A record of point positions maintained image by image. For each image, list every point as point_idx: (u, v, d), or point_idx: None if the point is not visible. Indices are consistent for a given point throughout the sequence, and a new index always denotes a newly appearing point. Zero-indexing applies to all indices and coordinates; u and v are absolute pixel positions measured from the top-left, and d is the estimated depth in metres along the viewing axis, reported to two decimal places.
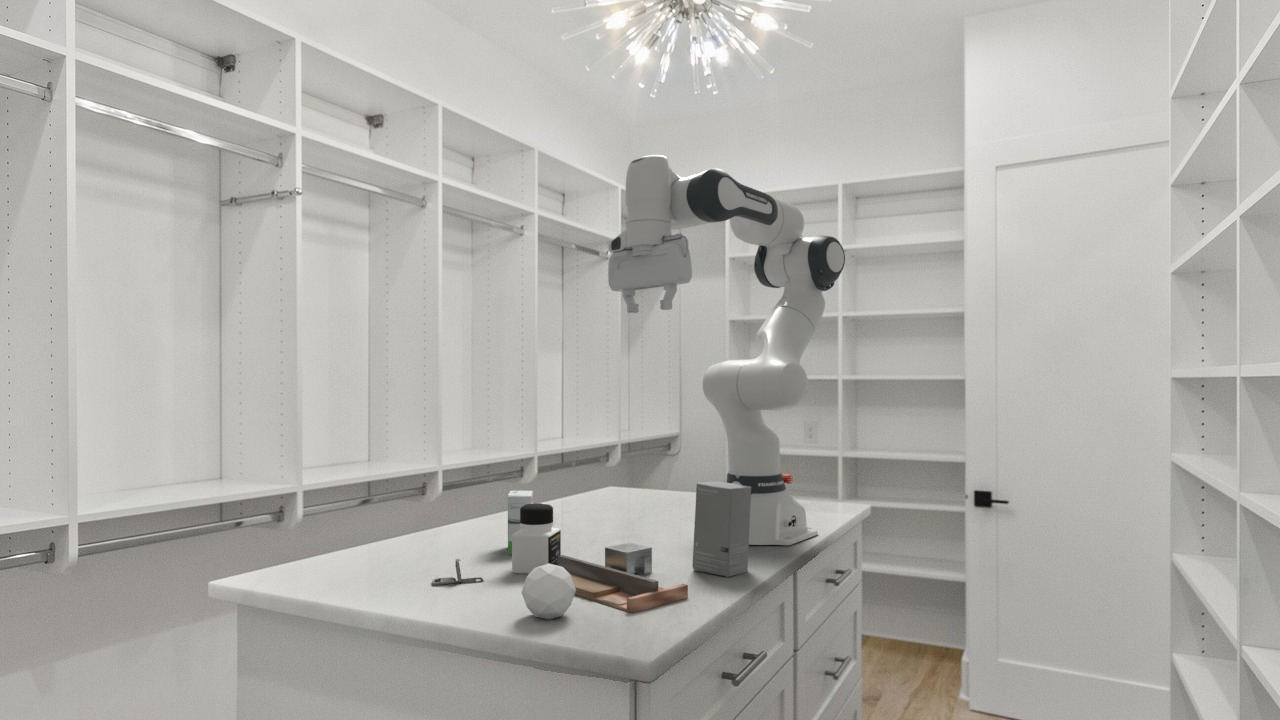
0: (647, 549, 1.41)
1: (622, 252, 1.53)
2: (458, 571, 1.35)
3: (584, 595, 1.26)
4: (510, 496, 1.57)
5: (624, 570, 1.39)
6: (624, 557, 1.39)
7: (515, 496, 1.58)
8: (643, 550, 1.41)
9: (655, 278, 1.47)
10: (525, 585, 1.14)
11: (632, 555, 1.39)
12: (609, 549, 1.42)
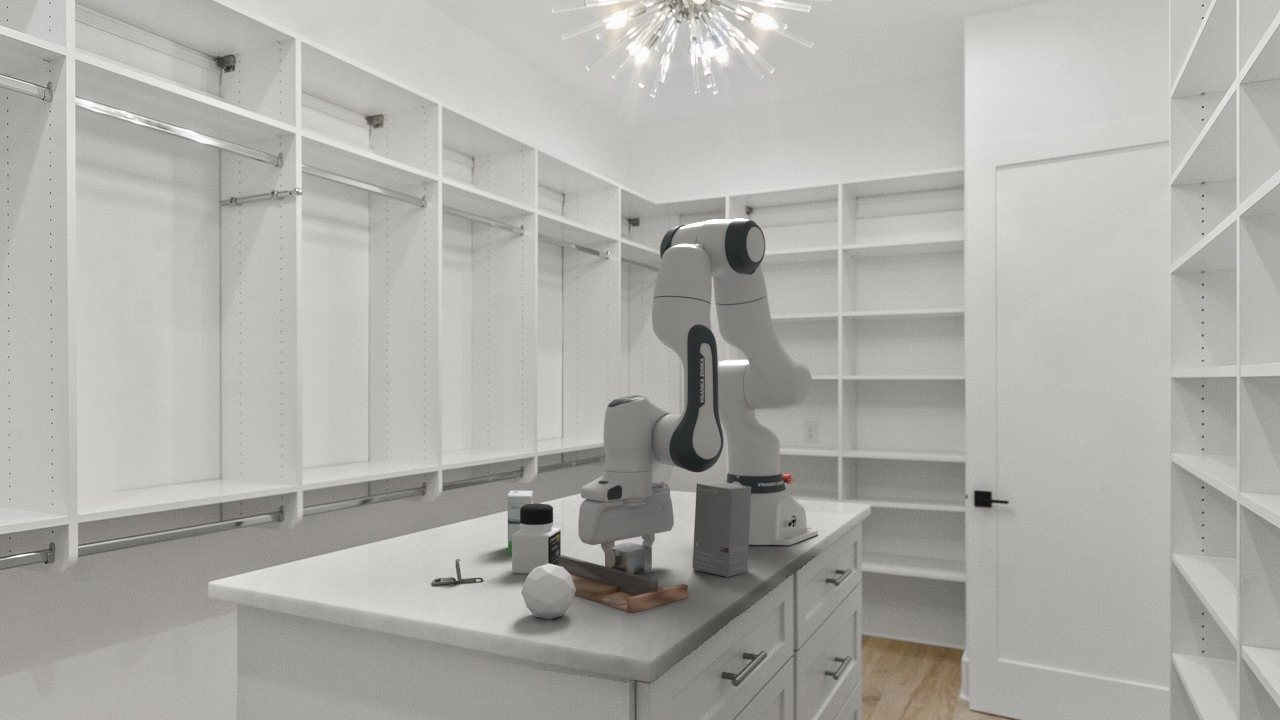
0: (647, 549, 1.41)
1: (619, 502, 1.37)
2: (458, 571, 1.35)
3: (584, 595, 1.26)
4: (510, 496, 1.57)
5: (624, 570, 1.39)
6: (624, 557, 1.39)
7: (515, 496, 1.58)
8: (643, 550, 1.41)
9: (650, 529, 1.43)
10: (525, 585, 1.14)
11: (632, 555, 1.39)
12: None
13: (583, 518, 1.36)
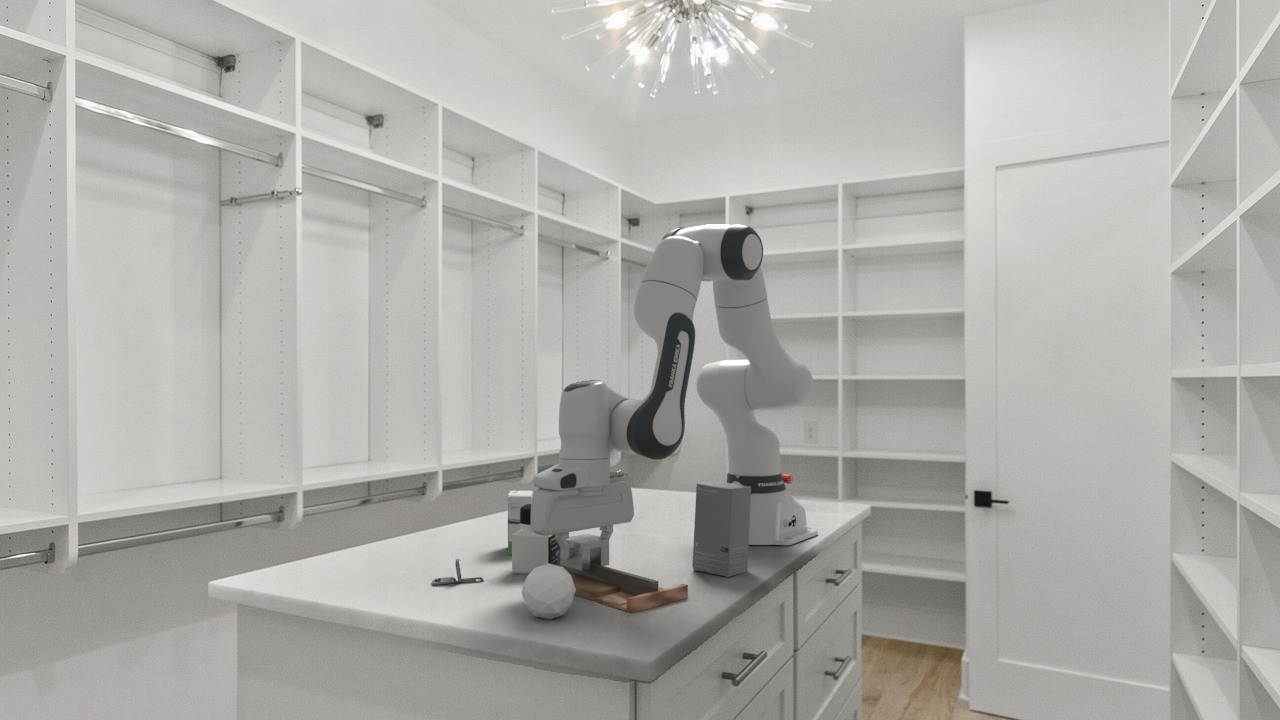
0: (604, 540, 1.35)
1: (573, 491, 1.31)
2: (458, 571, 1.35)
3: (584, 595, 1.26)
4: (510, 496, 1.57)
5: (579, 562, 1.32)
6: (579, 548, 1.32)
7: (515, 496, 1.58)
8: (600, 541, 1.34)
9: (607, 519, 1.37)
10: (525, 585, 1.14)
11: (587, 546, 1.32)
12: None
13: (535, 508, 1.30)
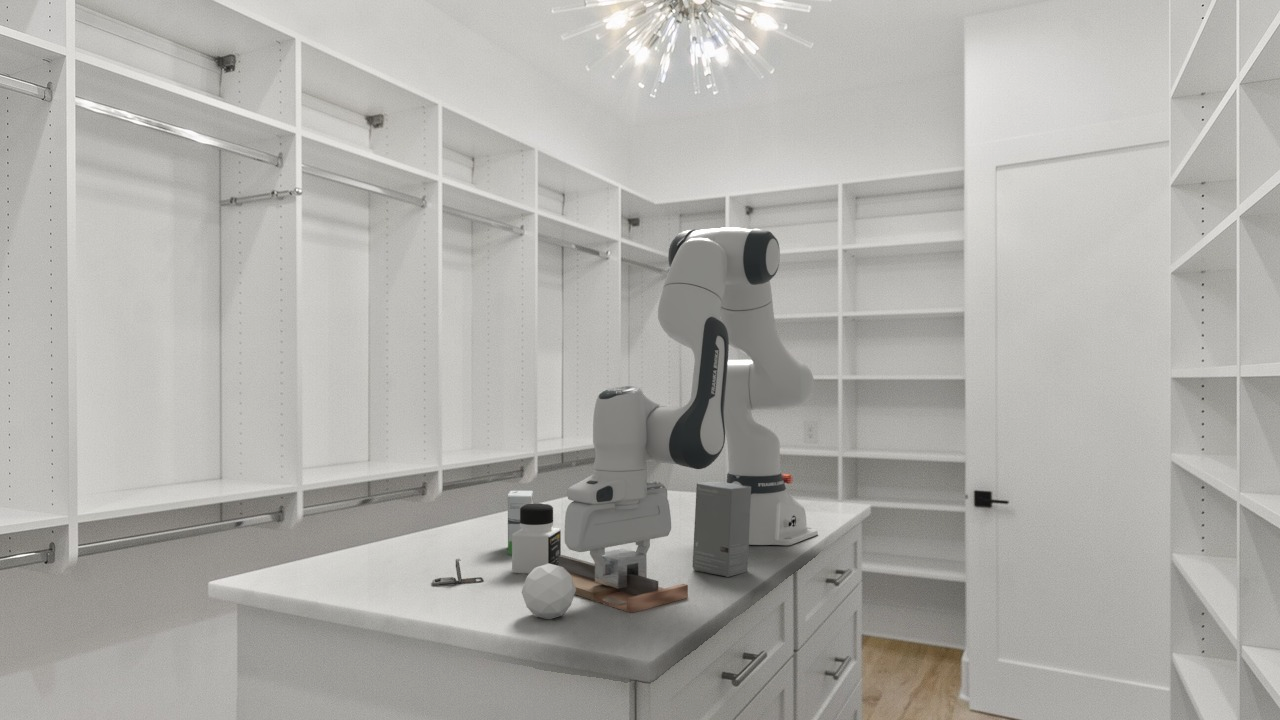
0: (641, 556, 1.28)
1: (610, 504, 1.24)
2: (458, 571, 1.35)
3: (584, 595, 1.26)
4: (510, 496, 1.57)
5: (615, 579, 1.25)
6: (615, 565, 1.25)
7: (515, 496, 1.58)
8: (637, 557, 1.27)
9: (644, 534, 1.30)
10: (525, 585, 1.14)
11: (624, 563, 1.25)
12: None
13: (570, 523, 1.22)
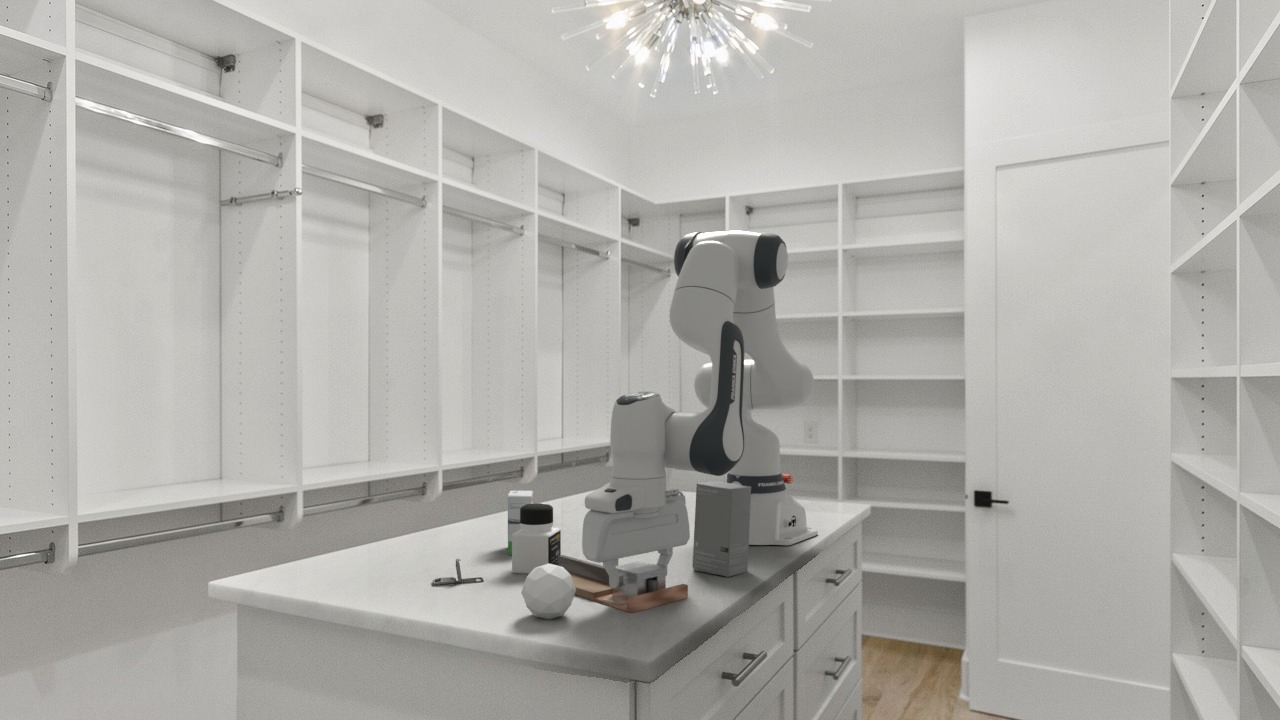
0: (660, 569, 1.24)
1: (629, 513, 1.20)
2: (458, 571, 1.35)
3: (584, 595, 1.26)
4: (510, 496, 1.57)
5: (634, 594, 1.21)
6: (634, 579, 1.21)
7: (515, 496, 1.58)
8: (656, 570, 1.24)
9: (663, 543, 1.26)
10: (525, 585, 1.14)
11: (643, 576, 1.22)
12: (617, 569, 1.25)
13: (588, 532, 1.19)
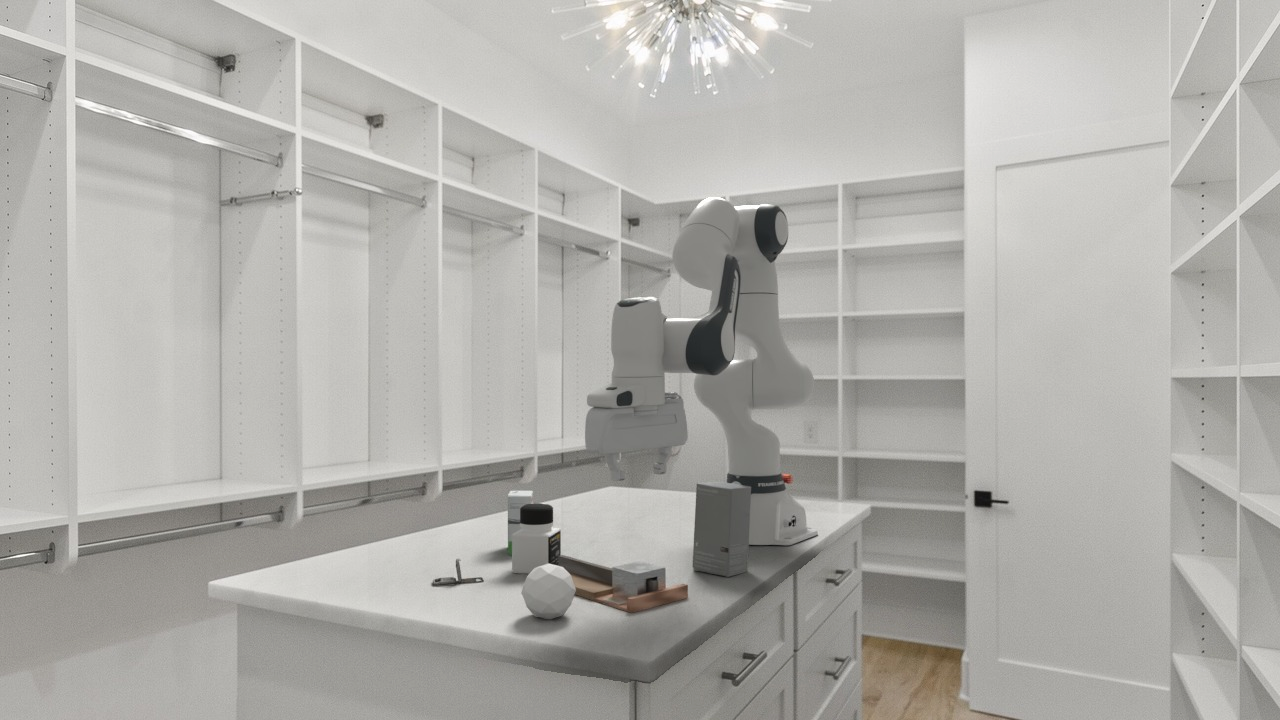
0: (660, 569, 1.24)
1: (629, 409, 1.26)
2: (458, 571, 1.35)
3: (584, 595, 1.26)
4: (510, 496, 1.57)
5: (634, 594, 1.21)
6: (634, 579, 1.21)
7: (515, 496, 1.58)
8: (656, 570, 1.24)
9: (662, 441, 1.32)
10: (525, 585, 1.14)
11: (643, 576, 1.22)
12: (617, 569, 1.25)
13: (590, 427, 1.25)
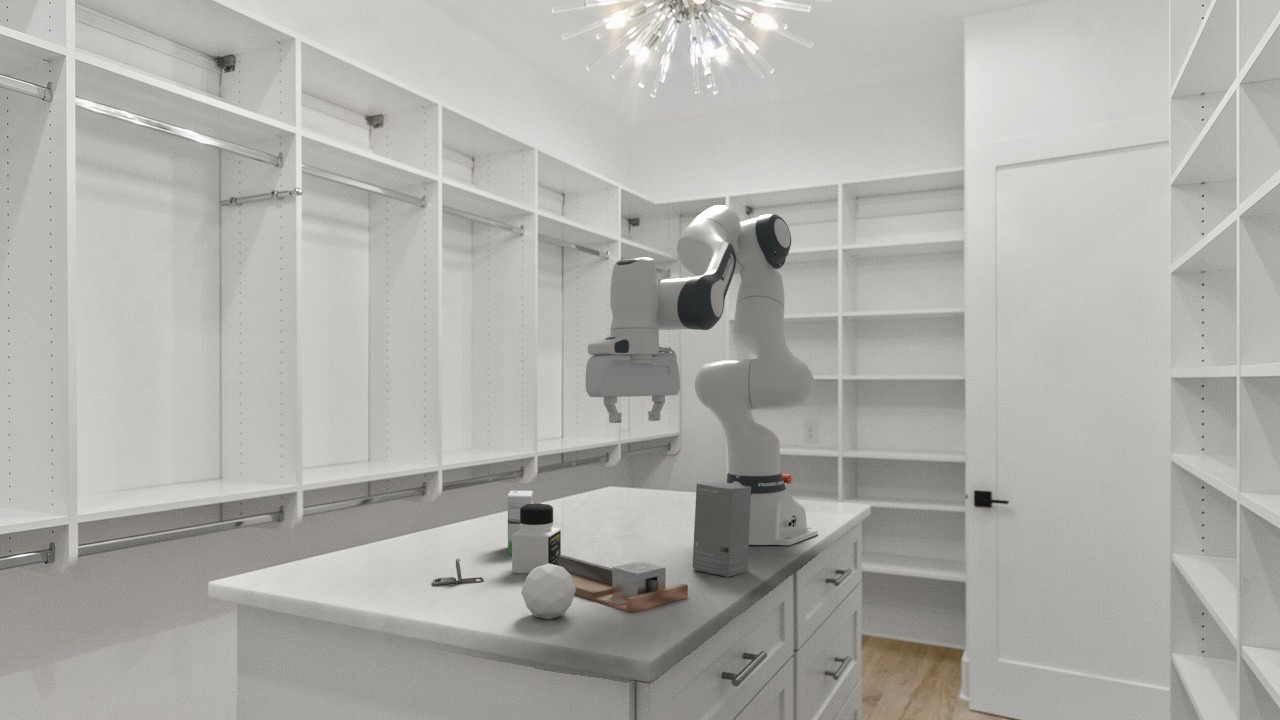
0: (660, 569, 1.24)
1: (626, 357, 1.38)
2: (458, 571, 1.35)
3: (584, 595, 1.26)
4: (510, 496, 1.57)
5: (634, 594, 1.21)
6: (634, 579, 1.21)
7: (515, 496, 1.58)
8: (656, 570, 1.24)
9: (656, 389, 1.44)
10: (525, 585, 1.14)
11: (643, 576, 1.22)
12: (617, 569, 1.25)
13: (591, 372, 1.37)
